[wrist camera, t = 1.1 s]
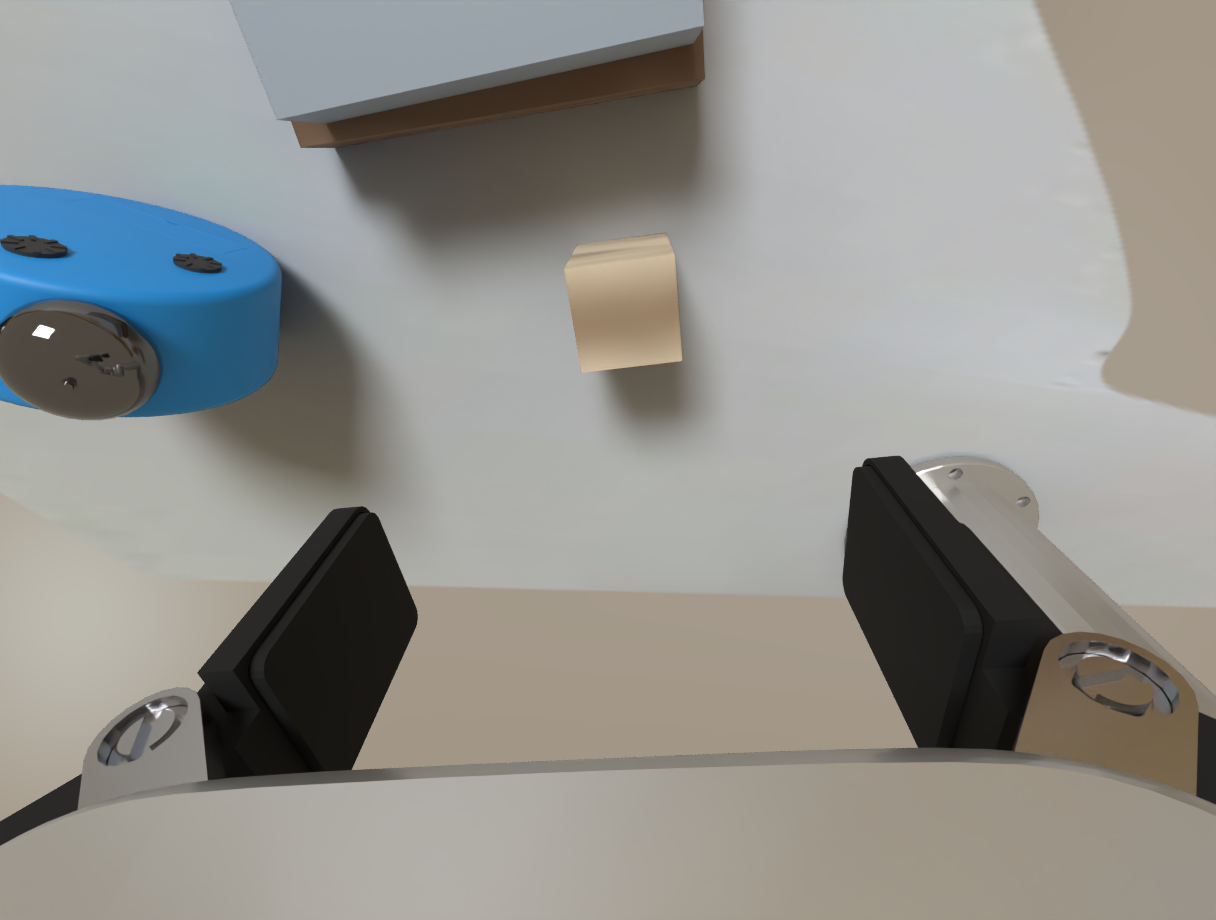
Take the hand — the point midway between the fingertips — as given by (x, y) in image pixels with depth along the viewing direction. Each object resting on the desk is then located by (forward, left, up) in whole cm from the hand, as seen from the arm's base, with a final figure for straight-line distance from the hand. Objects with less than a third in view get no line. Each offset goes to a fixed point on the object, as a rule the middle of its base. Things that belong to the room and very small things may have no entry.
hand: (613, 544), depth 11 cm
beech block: (0, 0, -24) cm, 24 cm away
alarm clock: (+4, +24, -24) cm, 34 cm away
